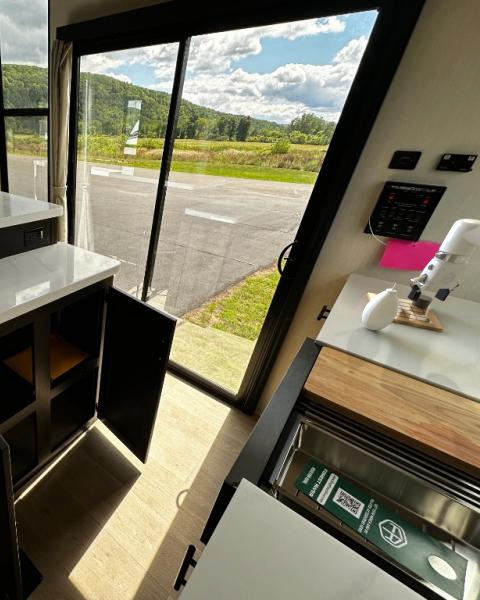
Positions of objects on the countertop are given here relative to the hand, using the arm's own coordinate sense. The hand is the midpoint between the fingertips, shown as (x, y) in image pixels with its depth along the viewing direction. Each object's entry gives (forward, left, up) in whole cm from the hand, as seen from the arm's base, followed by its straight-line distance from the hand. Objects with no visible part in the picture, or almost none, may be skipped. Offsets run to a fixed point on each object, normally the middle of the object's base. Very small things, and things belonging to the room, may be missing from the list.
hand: (425, 299), depth 116 cm
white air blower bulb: (+17, +23, -4) cm, 29 cm away
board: (+6, +6, -4) cm, 9 cm away
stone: (0, 0, -3) cm, 3 cm away
